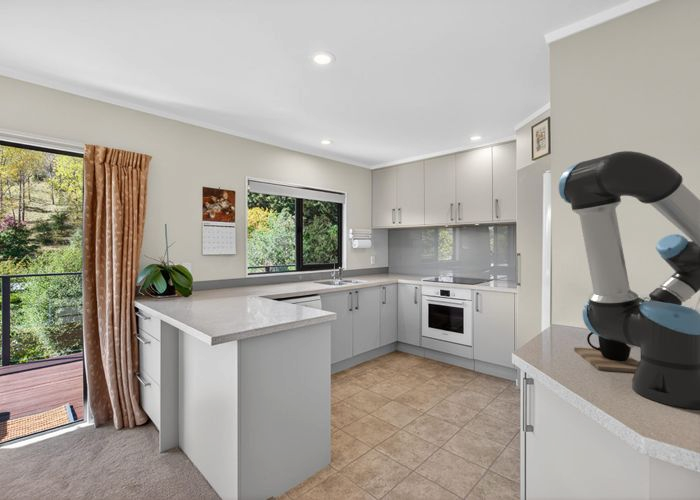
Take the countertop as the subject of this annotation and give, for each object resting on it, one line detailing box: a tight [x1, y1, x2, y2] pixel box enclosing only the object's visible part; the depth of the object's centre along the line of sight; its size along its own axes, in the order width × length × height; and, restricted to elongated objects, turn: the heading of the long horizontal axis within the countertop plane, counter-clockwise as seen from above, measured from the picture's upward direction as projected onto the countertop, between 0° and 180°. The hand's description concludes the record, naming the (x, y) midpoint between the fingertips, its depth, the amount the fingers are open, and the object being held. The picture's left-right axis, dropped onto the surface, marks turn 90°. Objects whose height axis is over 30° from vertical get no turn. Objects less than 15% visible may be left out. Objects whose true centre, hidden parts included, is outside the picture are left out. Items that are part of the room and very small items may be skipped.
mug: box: [586, 331, 632, 361], centre depth 112 cm, size 12×9×10 cm
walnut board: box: [573, 346, 640, 374], centre depth 112 cm, size 20×14×1 cm
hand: (616, 339), depth 111 cm, fingers open, 13 cm apart
